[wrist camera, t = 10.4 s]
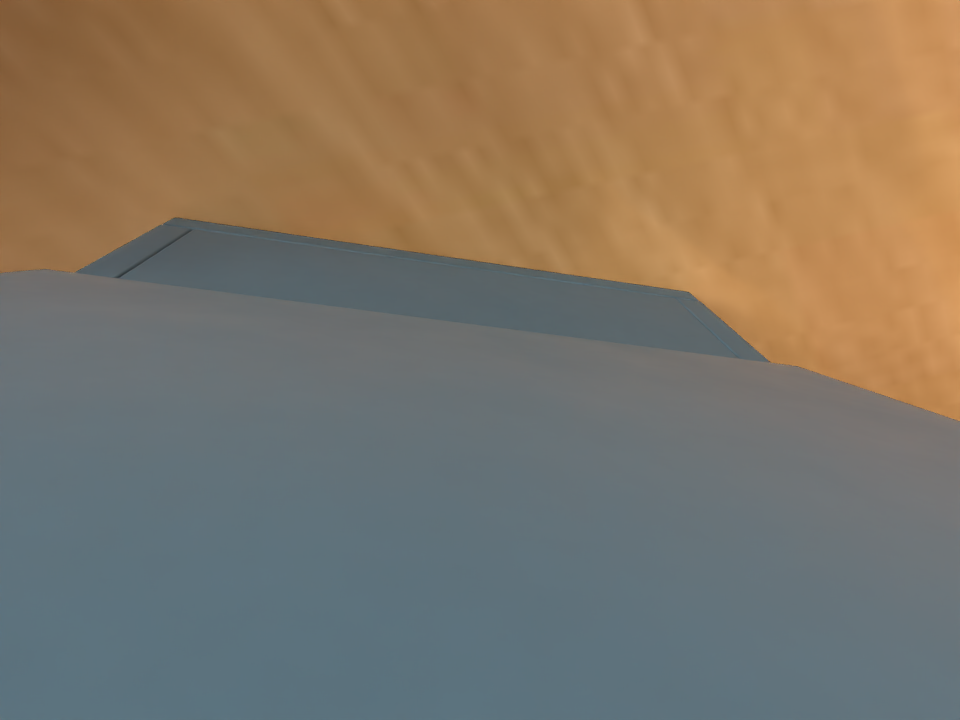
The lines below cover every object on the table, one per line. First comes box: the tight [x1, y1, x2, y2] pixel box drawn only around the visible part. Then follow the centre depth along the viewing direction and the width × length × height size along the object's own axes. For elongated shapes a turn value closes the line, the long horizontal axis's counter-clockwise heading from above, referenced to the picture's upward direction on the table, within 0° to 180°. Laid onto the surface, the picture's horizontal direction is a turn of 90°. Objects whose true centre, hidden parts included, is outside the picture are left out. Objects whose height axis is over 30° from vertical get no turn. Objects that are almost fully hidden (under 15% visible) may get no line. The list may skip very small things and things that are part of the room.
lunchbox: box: [75, 218, 770, 363], centre depth 15 cm, size 15×13×4 cm
